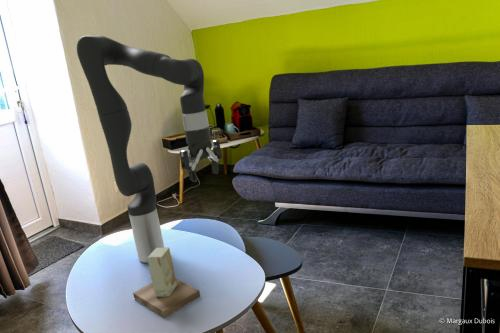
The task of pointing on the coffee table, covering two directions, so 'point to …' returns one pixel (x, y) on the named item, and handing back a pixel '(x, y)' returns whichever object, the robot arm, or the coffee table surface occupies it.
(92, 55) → the robot arm
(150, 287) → the walnut board
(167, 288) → the skincare box
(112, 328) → the coffee table surface
